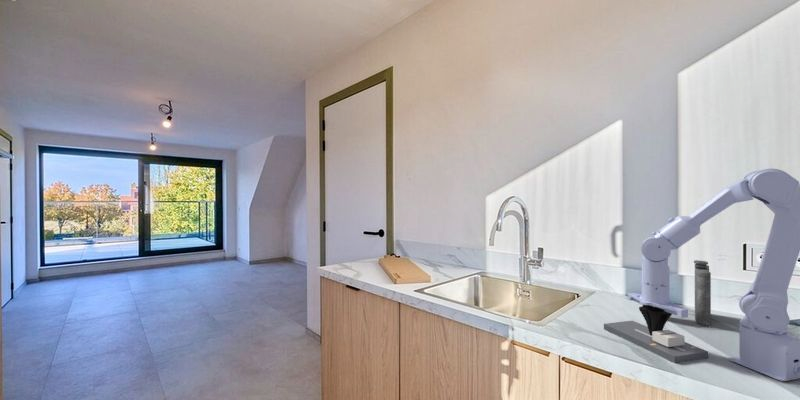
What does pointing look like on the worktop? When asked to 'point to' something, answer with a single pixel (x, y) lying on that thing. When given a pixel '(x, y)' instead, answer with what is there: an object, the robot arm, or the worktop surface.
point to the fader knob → (668, 338)
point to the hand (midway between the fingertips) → (655, 335)
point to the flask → (702, 293)
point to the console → (644, 339)
